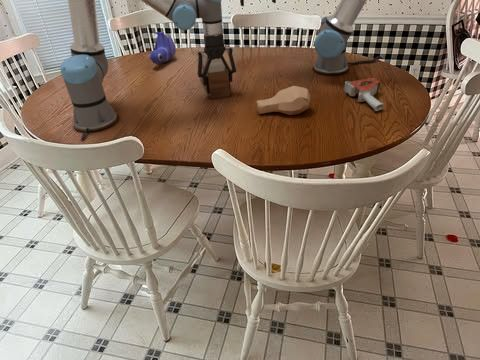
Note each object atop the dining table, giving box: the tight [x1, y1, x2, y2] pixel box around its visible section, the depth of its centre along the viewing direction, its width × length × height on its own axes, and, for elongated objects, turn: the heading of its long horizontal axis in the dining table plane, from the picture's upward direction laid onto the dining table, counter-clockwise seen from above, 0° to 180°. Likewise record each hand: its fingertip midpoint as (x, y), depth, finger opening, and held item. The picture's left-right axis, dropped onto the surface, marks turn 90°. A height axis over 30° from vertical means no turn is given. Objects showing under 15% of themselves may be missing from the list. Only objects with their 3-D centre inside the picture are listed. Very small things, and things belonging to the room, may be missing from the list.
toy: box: [148, 31, 177, 69], centre depth 182 cm, size 10×17×25 cm
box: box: [200, 53, 231, 100], centre depth 153 cm, size 24×8×11 cm, turn 14°
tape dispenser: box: [343, 77, 384, 112], centre depth 136 cm, size 18×5×20 cm
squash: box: [255, 85, 312, 116], centre depth 130 cm, size 11×20×9 cm, turn 92°
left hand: (218, 91), depth 148 cm, fingers closed on box, 8 cm apart
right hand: (258, 4), depth 146 cm, fingers open, 13 cm apart
